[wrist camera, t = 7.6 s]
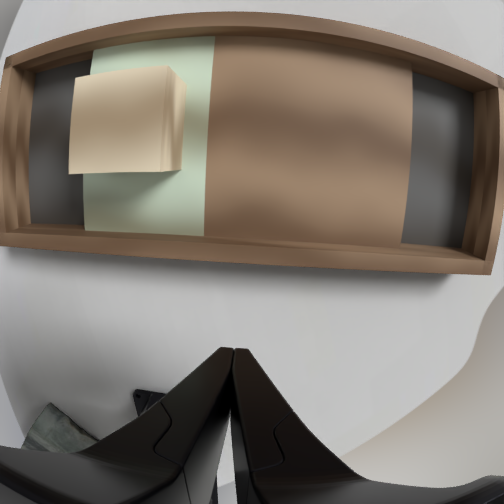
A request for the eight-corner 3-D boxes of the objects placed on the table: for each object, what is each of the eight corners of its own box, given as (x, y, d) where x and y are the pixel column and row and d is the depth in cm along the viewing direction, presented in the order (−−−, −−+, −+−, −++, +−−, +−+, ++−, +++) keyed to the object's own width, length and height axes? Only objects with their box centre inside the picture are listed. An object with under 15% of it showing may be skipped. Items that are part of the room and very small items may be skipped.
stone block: (114, 446, 27) (100, 479, 22) (79, 473, 30) (67, 498, 25) (50, 399, 26) (29, 429, 21) (29, 437, 29) (14, 460, 24)
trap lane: (464, 260, 20) (490, 275, 17) (26, 234, 20) (-1, 245, 17) (478, 85, 16) (506, 79, 13) (32, 65, 16) (5, 57, 13)
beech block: (181, 169, 17) (160, 171, 13) (104, 170, 17) (68, 174, 13) (186, 84, 15) (167, 65, 12) (109, 91, 15) (75, 77, 12)
